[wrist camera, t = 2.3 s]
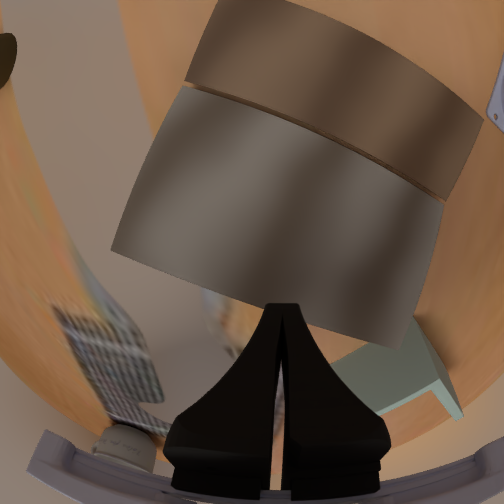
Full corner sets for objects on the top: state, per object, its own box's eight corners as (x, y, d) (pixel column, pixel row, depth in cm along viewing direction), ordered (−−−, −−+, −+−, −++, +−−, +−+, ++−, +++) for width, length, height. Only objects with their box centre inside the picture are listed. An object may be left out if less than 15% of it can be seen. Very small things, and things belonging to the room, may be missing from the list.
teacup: (149, 424, 38) (136, 465, 31) (170, 449, 43) (160, 483, 36) (85, 408, 40) (69, 441, 33) (110, 434, 45) (99, 464, 38)
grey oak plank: (430, 207, 17) (443, 204, 16) (387, 343, 17) (398, 350, 16) (185, 97, 16) (182, 85, 14) (119, 249, 15) (110, 250, 14)
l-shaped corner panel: (308, 374, 27) (310, 437, 21) (411, 314, 23) (439, 378, 16) (362, 410, 31) (368, 460, 24) (444, 366, 26) (464, 416, 20)
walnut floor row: (472, 116, 14) (484, 119, 13) (436, 194, 17) (445, 201, 16) (230, -7, 12) (226, -15, 11) (191, 82, 15) (184, 80, 14)
